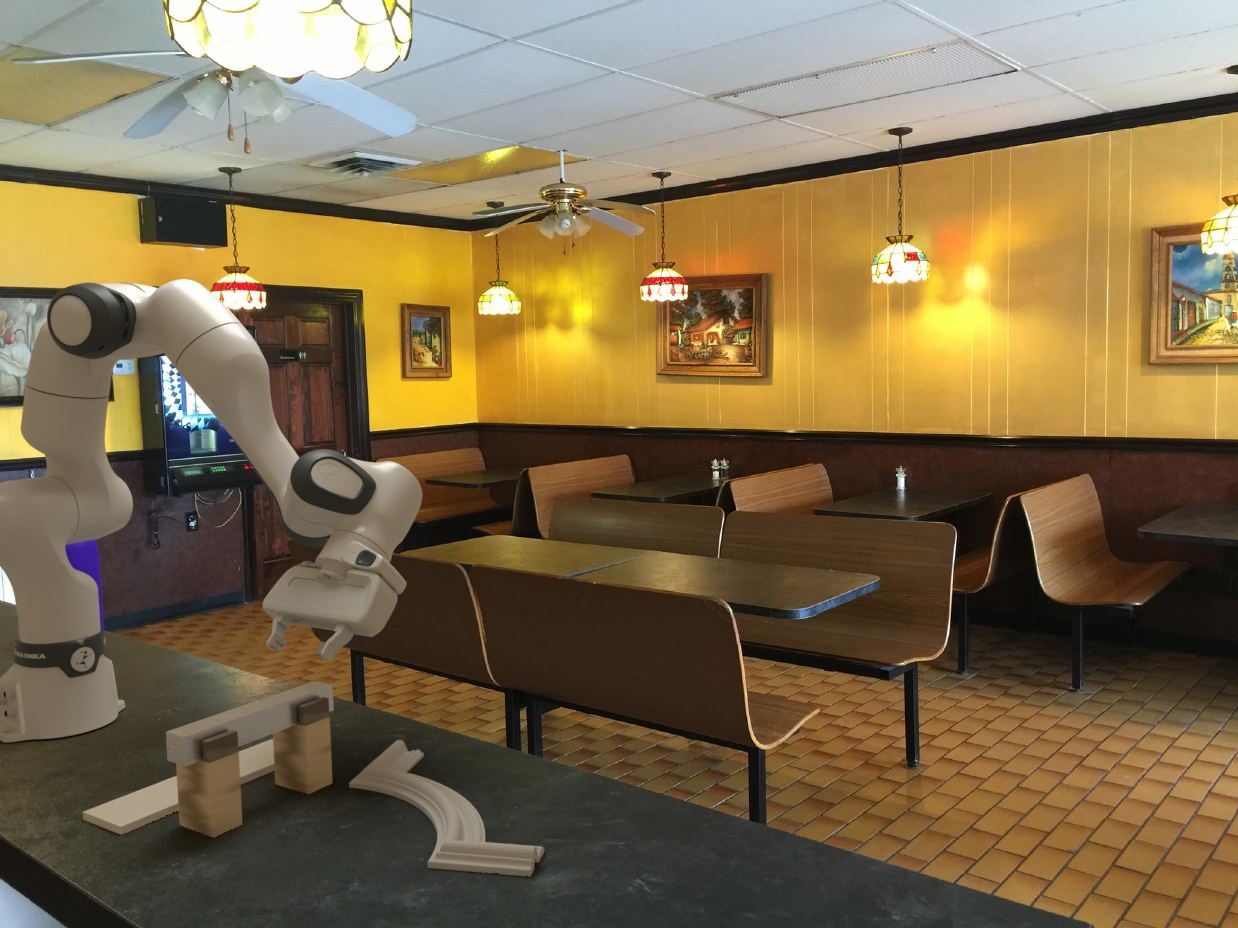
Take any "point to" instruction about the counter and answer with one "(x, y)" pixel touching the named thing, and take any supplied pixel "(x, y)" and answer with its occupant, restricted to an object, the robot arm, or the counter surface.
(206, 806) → the post near
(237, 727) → the rail
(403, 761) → the molding
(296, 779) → the post far
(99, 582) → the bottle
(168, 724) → the counter surface
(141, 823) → the plank
